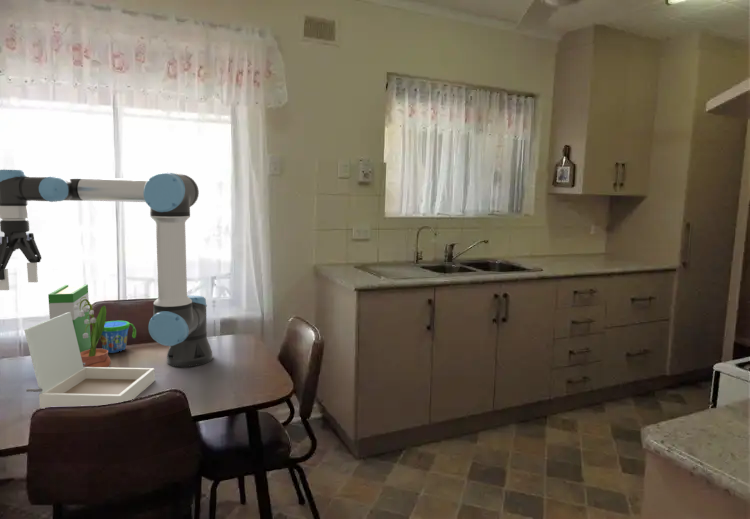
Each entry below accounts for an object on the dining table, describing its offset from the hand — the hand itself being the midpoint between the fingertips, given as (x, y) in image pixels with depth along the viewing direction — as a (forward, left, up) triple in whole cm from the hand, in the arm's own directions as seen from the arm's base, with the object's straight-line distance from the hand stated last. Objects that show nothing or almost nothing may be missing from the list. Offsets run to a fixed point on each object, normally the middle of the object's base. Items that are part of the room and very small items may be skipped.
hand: (19, 286), depth 165 cm
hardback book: (-6, -16, -28) cm, 33 cm away
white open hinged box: (-32, +18, -28) cm, 46 cm away
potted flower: (-21, -1, -28) cm, 35 cm away
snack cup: (-18, -22, -28) cm, 40 cm away
